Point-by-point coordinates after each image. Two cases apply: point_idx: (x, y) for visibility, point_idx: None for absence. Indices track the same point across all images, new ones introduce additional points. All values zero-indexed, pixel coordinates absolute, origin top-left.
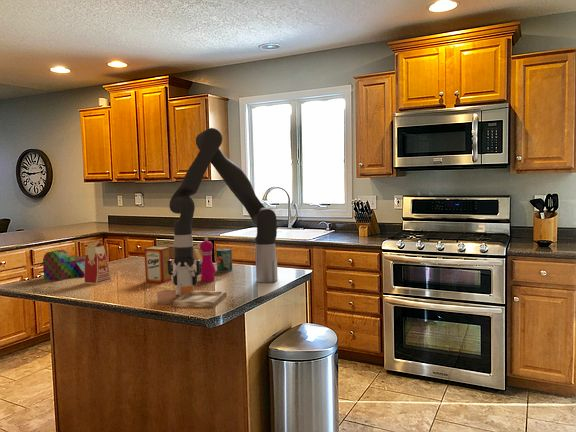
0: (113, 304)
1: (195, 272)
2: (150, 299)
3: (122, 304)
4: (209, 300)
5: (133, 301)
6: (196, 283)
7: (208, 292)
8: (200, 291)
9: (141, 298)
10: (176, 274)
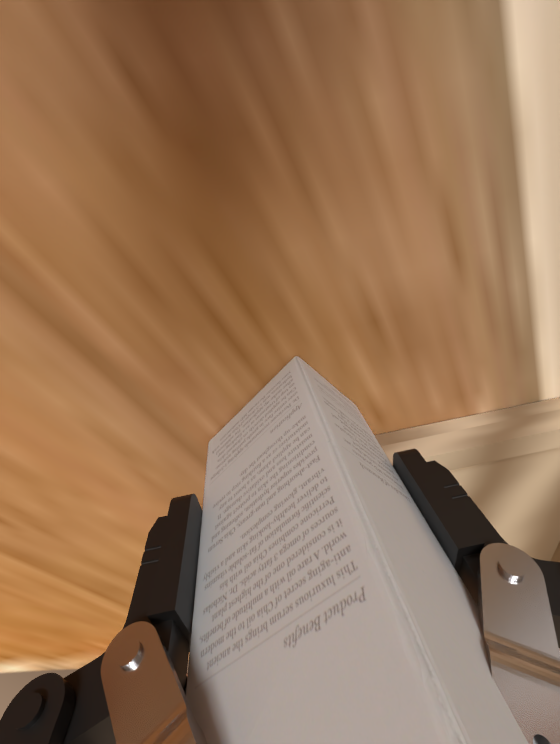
0: (5, 672)
1: (530, 611)
2: (116, 574)
3: (54, 659)
4: (530, 527)
5: (52, 622)
6: (434, 469)
7: (522, 452)
8: (454, 461)
9: (29, 579)
10: (177, 664)
